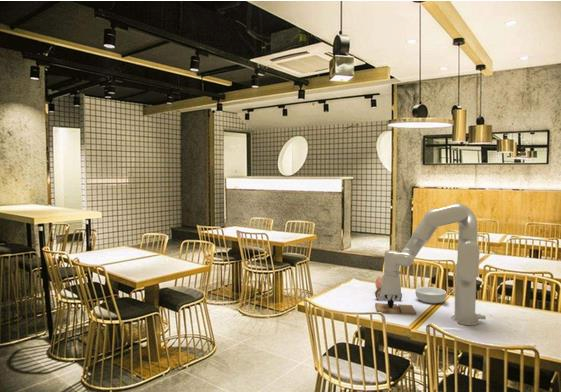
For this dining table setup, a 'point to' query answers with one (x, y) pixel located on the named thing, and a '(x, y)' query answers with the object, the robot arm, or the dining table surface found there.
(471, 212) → the robot arm
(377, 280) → the vase
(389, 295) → the tin
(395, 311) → the panel
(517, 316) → the dining table surface
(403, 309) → the floor board
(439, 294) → the cereal bowl
